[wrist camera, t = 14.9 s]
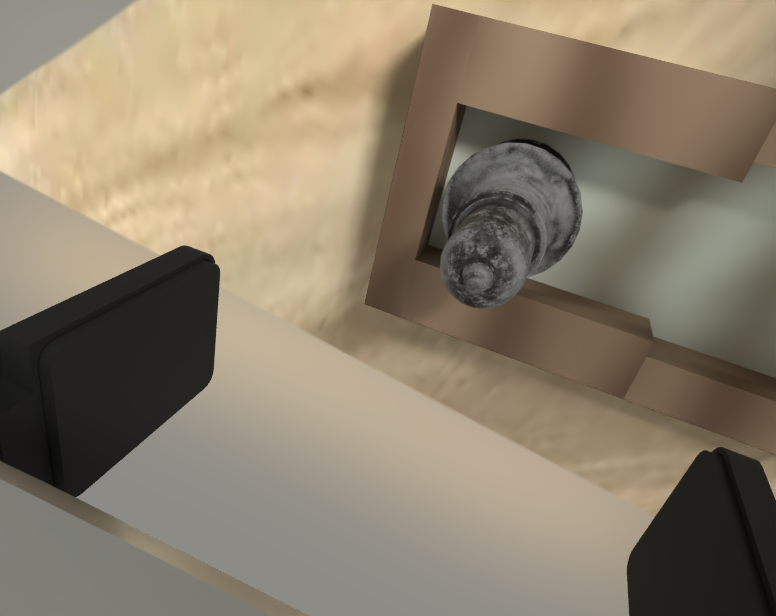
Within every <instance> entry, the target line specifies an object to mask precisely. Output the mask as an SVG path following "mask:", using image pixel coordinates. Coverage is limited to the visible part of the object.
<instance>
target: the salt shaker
mask: <svg viewBox="0 0 776 616" xmlns="http://www.w3.org/2000/svg"><path fill="white" fill-rule="evenodd" d="M582 214H583V208H582V200H581V192H580V190H579V188H578V185H577V183H576V181H575V177H574V175H573V173H572V170H571V168H570V166H569V164H568V163H567V162H566V160H565V159H564V158H563V157H562V156H561V154H560V153H559V152H557V151H556V150H554V149H553V148H551V147H550V146H548V145H547V144H544V143H541V142H538V141H535V140H528V139H515V140H510V141H505V142H502V143H500V144H497V145H493V146H488V147H486V148H484V149H483V150H481V151H479V152H477V153H475V154H473V155H471V156H470V157H469V158H468V159H467V160H466V161H465V162H464V163H462V164H461V165H460V166H459V167H458V168H457V170H456V171H455V173H454V174H453V176H452V177H451V179H450V180H449V182H448V184H447V187H446V190H445V193H444V196H443V200H442V221H443V226H444V231H445V234H446V236H447V238H448V241H447V243H446V244H445V246H444V248H443V251H442V254H441V262H440V272H441V277H442V281H443V283H444V285H445V287H446V289H447V290H448V291H449V293H450V294H451V295H452V296H453V297H454V298H455V299H457V300H458V301H459V302H461V303H462V304H465V305H467V306H470V307H473V308H480V309H486V308H494V307H497V306H500V305H502V304H504V303H506V302H507V301H509V300H510V299H511V298H513V297H514V296H515V295H516V294H517V293H518V291H519V290H520V289H521V288H522V286H523V284H524V282H525V280H526V278H527V277H531V276H533V275H536V274H539V273H541V272H544V271H546V270H548V269H549V268H550V267H552V266H553V265H555V264H556V263H558V262H559V261H560V260H561V259H562V258H563V257H564V256H565V254H566V253H567V252H568V251H569V250H570V249H571V247H572V246H573V244H574V242H575V239H576V237H577V235H578V233H579V231H580V226H581V220H582Z"/></svg>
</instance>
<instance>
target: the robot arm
mask: <svg viewBox="0 0 776 616" xmlns="http://www.w3.org/2000/svg"><path fill="white" fill-rule="evenodd" d="M219 282H220V269H219V266H218V265H217V264H215V260H214V258H213V256H212V255H210V254H208V253H205V252H202V251H200V250H197V249H194V248H192V247H189V246H185V245H184V246H180V247H178V248H176V249H174V250H172V251H170V252H167V253H165V254H163V255H161V256H159V257H157V258H155V259H152V260H150V261H148V262H146V263H144V264H142V265H140V266H138V267H135V268H133V269H131V270H129V271H127V272H125V273H123V274H120V275H118V276H116V277H114V278H112V279H110V280H108V281H105V282H103V283H101V284H99V285H97V286H95V287H93V288H91V289H88V290H86V291H84V292H82V293H80V294H78V295H75V296H73V297H71V298H69V299H67V300H65V301H63V302H61V303H58V304H56V305H54V306H52V307H50V308H48V309H46V310H44V311H41V312H39V313H37V314H35V315H33V316H31V317H28V318H26V319H24V320H22V321H20V322H18V323H16V324H13V325H12V326H10V327H7V328H5V329H3V330H1V331H0V616H309V615H307V614H305V613H303V612H301V611H299V610H297V609H295V608H293V607H291V606H289V605H287V604H285V603H283V602H281V601H279V600H277V599H275V598H274V597H272V596H269V595H268V594H266V593H264V592H262V591H260V590H258V589H256V588H254V587H252V586H250V585H248V584H246V583H244V582H242V581H240V580H238V579H236V578H234V577H232V576H230V575H228V574H226V573H224V572H222V571H220V570H218V569H216V568H214V567H212V566H210V565H208V564H206V563H204V562H202V561H201V560H199V559H197V558H195V557H193V556H191V555H189V554H187V553H185V552H183V551H181V550H179V549H177V548H175V547H173V546H171V545H169V544H167V543H165V542H163V541H161V540H159V539H157V538H155V537H153V536H151V535H149V534H147V533H145V532H143V531H141V530H139V529H137V528H135V527H133V526H131V525H129V524H127V523H125V522H123V521H121V520H119V519H117V518H115V517H113V516H111V515H109V514H107V513H105V512H103V511H101V510H99V509H97V508H95V507H93V506H91V505H89V504H87V503H85V502H83V501H81V500H79V499H77V498H75V497H77V496H79V495H80V494H82V493H83V492H84V491H85V490H86V489H87V488H89V487H90V486H91V485H92V484H93V483H95V482H96V481H97V480H98V479H99V478H100V477H102V476H103V475H104V474H105V473H106V472H107V471H109V470H110V469H111V468H112V467H113V466H114V465H116V464H117V463H118V462H119V461H120V460H121V459H123V458H124V457H125V456H126V455H127V454H128V453H130V452H131V451H132V450H133V449H134V448H135V447H137V446H138V445H139V444H140V443H141V442H142V441H144V440H145V439H146V438H147V437H148V436H149V435H150V434H152V433H153V432H154V431H155V430H156V429H158V428H159V427H160V426H161V425H162V424H163V423H165V422H166V421H167V420H168V419H169V418H170V417H171V416H173V415H174V414H175V413H176V412H177V411H179V410H180V409H181V408H182V407H183V406H184V405H186V404H187V403H188V402H189V401H190V400H191V399H193V398H194V397H195V396H196V395H197V394H198V393H199V392H201V391H202V390H203V389H204V388H205V387H206V386H207V385H208V383H209V382H210V380H211V378H212V375H213V369H214V356H215V341H216V325H217V310H218V297H219ZM627 582H628V599H629V616H776V500H775V497H774V495H773V492H772V490H771V487H770V485H769V482H768V480H767V477H766V475H765V472H764V470H763V467H762V465H761V464H760V462H759V461H757V460H755V459H752V458H749V457H747V456H744V455H741V454H739V453H736V452H733V451H731V450H728V449H725V448H723V447H718V448H716V449H715V450H713V451H712V452H709V451H706V450H704V451H702V452H700V453H699V454H698V456H697V457H696V458H695V460H694V461H693V463H692V464H691V466H690V467H689V469H688V470H687V471H686V473H685V474H684V476H683V477H682V479H681V480H680V482H679V483H678V485H677V486H676V487H675V489H674V490H673V492H672V493H671V495H670V496H669V498H668V499H667V500H666V502H665V503H664V505H663V506H662V508H661V509H660V511H659V512H658V514H657V515H656V516H655V518H654V519H653V521H652V522H651V524H650V525H649V527H648V528H647V530H646V531H645V532H644V534H643V535H642V537H641V538H640V540H639V542H638V543H637V544H636V545H635V547H634V549H633V550H632V552H631V554H630V557H629V561H628V565H627Z"/></svg>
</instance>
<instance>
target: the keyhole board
mask: <svg viewBox="0 0 776 616" xmlns="http://www.w3.org/2000/svg"><path fill="white" fill-rule="evenodd" d="M515 139H528V140H535V141H538V142H541V143H544V144H547V145H548V146H550V147H551V148H553V149H554V150H556V151H557V152H559V153H560V154H561V156H562V157H563V158H564V159H565V160H566V162H567V163H568V164H569V166H570V168H571V170H572V173H573V175H574V177H575V181H576V183H577V185H578V188H579V190H580V192H581V200H582V208H583V214H582V220H581V226H580V231H579V233H578V235H577V237H576V239H575V242H574V244H573V246H572V247H571V249H570V250H569V251H568V252H567V253H566V254H565V256H564V257H563V258H562V259H561V260H560V261H559V262H558V263H556V264H555V265H553V266H552V267H550V268H549V269H548V270H546V271H544V272H541V273H539V274H536V275H533V276H531V277H527V278H526V280H525V282H524V284H523V286H522V288H521V289H520V290H519V291H518V293H517V294H516V295H515V296H514V297H513V298H511V299H510V300H509V301H507V302H506V303H504V304H502V305H500V306H497V307H494V308H486V309H480V308H473V307H470V306H467V305H465V304H462V303H461V302H459V301H458V300H457V299H455V298H454V297H453V296H452V295H451V294H450V293H449V291H448V290H447V289H446V287H445V285H444V283H443V281H442V277H441V272H440V262H441V254H442V251H443V248H444V246H445V244H446V243H447V241H448V238H447V236H446V234H445V231H444V226H443V221H442V200H443V196H444V193H445V190H446V187H447V184H448V182H449V180H450V179H451V177H452V176H453V174H454V173H455V171H456V170H457V168H458V167H459V166H460V165H461V164H462V163H464V162H465V161H466V160H467V159H468V158H469V157H470V156H471V155H473V154H475V153H477V152H479V151H481V150H483V149H484V148H486V147H488V146H493V145H497V144H500V143H502V142H505V141H510V140H515ZM365 304H366V305H368V306H371V307H374V308H376V309H379V310H382V311H385V312H387V313H390V314H393V315H396V316H398V317H401V318H404V319H406V320H409V321H412V322H415V323H417V324H420V325H423V326H426V327H428V328H431V329H434V330H436V331H439V332H442V333H445V334H447V335H450V336H453V337H456V338H458V339H461V340H464V341H466V342H469V343H472V344H475V345H477V346H480V347H483V348H486V349H488V350H491V351H494V352H496V353H499V354H502V355H505V356H507V357H510V358H513V359H516V360H518V361H521V362H524V363H527V364H529V365H532V366H535V367H537V368H540V369H543V370H546V371H548V372H551V373H554V374H557V375H559V376H562V377H565V378H567V379H570V380H573V381H576V382H578V383H581V384H584V385H587V386H589V387H592V388H595V389H597V390H600V391H603V392H606V393H608V394H611V395H614V396H617V397H619V398H622V399H625V400H627V401H630V402H633V403H636V404H638V405H641V406H644V407H647V408H649V409H652V410H655V411H657V412H660V413H663V414H666V415H668V416H671V417H674V418H677V419H679V420H682V421H685V422H687V423H690V424H693V425H696V426H698V427H701V428H704V429H707V430H709V431H712V432H715V433H718V434H720V435H723V436H726V437H728V438H731V439H734V440H737V441H739V442H742V443H745V444H748V445H750V446H753V447H756V448H758V449H761V450H764V451H767V452H769V453H772V454H775V455H776V89H774V88H770V87H766V86H762V85H758V84H754V83H750V82H746V81H742V80H738V79H734V78H730V77H726V76H722V75H718V74H714V73H710V72H706V71H702V70H698V69H694V68H689V67H685V66H681V65H677V64H673V63H669V62H665V61H661V60H657V59H653V58H649V57H645V56H641V55H637V54H633V53H629V52H625V51H621V50H617V49H613V48H609V47H604V46H600V45H596V44H592V43H588V42H584V41H580V40H576V39H572V38H568V37H564V36H560V35H556V34H552V33H548V32H544V31H540V30H536V29H532V28H528V27H524V26H519V25H515V24H511V23H507V22H503V21H499V20H495V19H491V18H487V17H483V16H479V15H475V14H471V13H467V12H463V11H459V10H455V9H451V8H447V7H443V6H439V5H434V4H432V9H431V13H430V17H429V22H428V26H427V31H426V35H425V39H424V44H423V48H422V53H421V57H420V61H419V66H418V70H417V75H416V79H415V83H414V88H413V92H412V97H411V101H410V105H409V110H408V114H407V119H406V123H405V127H404V132H403V136H402V141H401V145H400V150H399V154H398V158H397V163H396V167H395V172H394V176H393V180H392V185H391V189H390V194H389V198H388V202H387V207H386V211H385V216H384V220H383V224H382V229H381V233H380V238H379V242H378V246H377V251H376V255H375V260H374V264H373V268H372V273H371V277H370V282H369V286H368V290H367V295H366V299H365Z"/></svg>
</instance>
